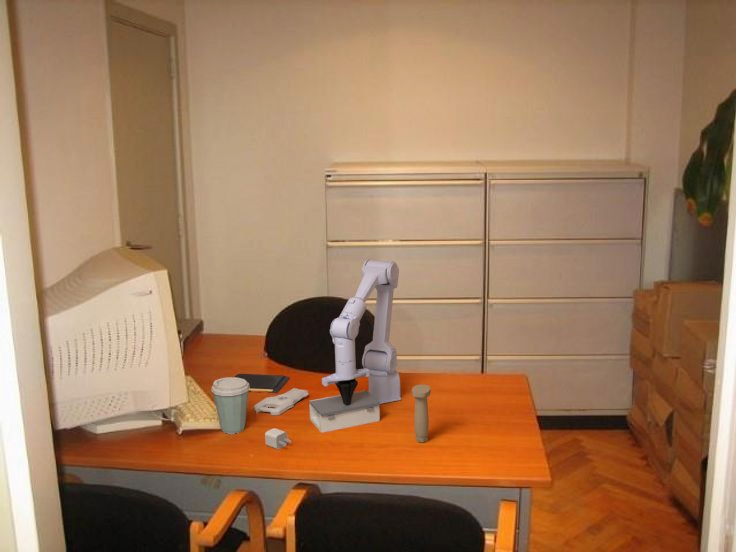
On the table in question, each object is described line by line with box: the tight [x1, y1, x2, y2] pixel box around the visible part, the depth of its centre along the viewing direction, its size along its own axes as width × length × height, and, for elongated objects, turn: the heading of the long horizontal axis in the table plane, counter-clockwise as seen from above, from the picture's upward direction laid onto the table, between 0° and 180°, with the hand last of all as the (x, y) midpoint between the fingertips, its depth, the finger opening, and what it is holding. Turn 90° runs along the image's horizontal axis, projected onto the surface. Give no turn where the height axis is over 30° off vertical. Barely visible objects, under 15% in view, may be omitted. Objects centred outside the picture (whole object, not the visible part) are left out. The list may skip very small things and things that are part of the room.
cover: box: [308, 389, 381, 416], centre depth 208 cm, size 18×10×1 cm, turn 113°
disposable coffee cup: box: [211, 376, 250, 435], centre depth 204 cm, size 11×11×15 cm
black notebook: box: [234, 373, 291, 394], centre depth 241 cm, size 20×2×15 cm
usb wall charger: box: [264, 427, 292, 450], centre depth 194 cm, size 4×7×4 cm, turn 51°
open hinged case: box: [308, 403, 381, 434], centre depth 209 cm, size 18×11×5 cm, turn 113°
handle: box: [411, 384, 432, 444], centre depth 194 cm, size 5×6×15 cm
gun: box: [253, 387, 310, 416], centre depth 222 cm, size 18×4×10 cm
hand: (346, 404), depth 206 cm, fingers closed, pressing on cover
